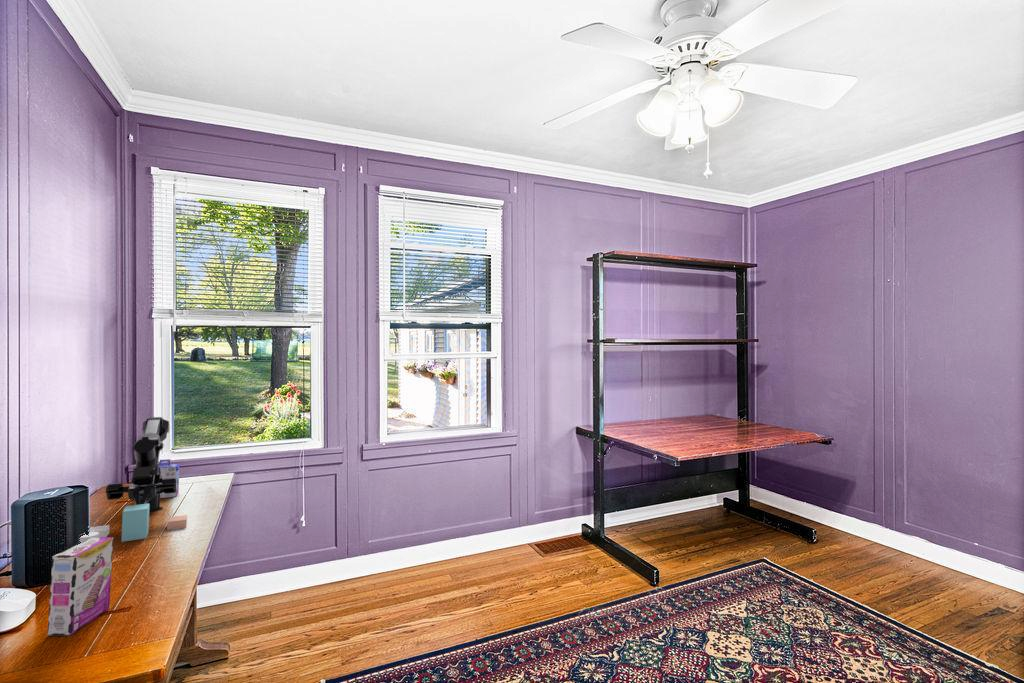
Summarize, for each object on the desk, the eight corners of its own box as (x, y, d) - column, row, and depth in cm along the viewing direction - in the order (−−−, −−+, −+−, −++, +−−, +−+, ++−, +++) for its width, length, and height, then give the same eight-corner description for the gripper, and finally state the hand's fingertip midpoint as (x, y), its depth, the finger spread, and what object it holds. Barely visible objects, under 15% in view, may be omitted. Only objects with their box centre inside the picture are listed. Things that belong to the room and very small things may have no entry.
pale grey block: (88, 540, 151) (88, 527, 151) (109, 537, 154) (109, 524, 154) (84, 546, 147) (84, 532, 147) (105, 543, 149) (105, 530, 149)
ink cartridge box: (179, 493, 201) (180, 458, 201) (175, 497, 196) (177, 460, 196) (150, 495, 197) (151, 459, 198) (145, 499, 192) (147, 462, 192)
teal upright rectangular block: (124, 535, 152) (125, 506, 152) (148, 531, 155) (149, 503, 155) (121, 541, 147) (122, 511, 147) (146, 538, 150) (147, 508, 150)
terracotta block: (168, 529, 162) (169, 517, 162) (186, 527, 164) (187, 515, 164) (167, 534, 157) (167, 521, 157) (185, 531, 160) (186, 519, 160)
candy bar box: (72, 636, 101) (75, 556, 102) (46, 637, 101) (49, 556, 101) (111, 608, 112) (114, 536, 113) (88, 608, 112) (91, 536, 112)
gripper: (107, 459, 159) (99, 502, 149) (177, 454, 168) (173, 494, 159) (111, 478, 165) (103, 520, 156) (178, 472, 175) (174, 512, 165)
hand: (139, 511), depth 159 cm, fingers closed
